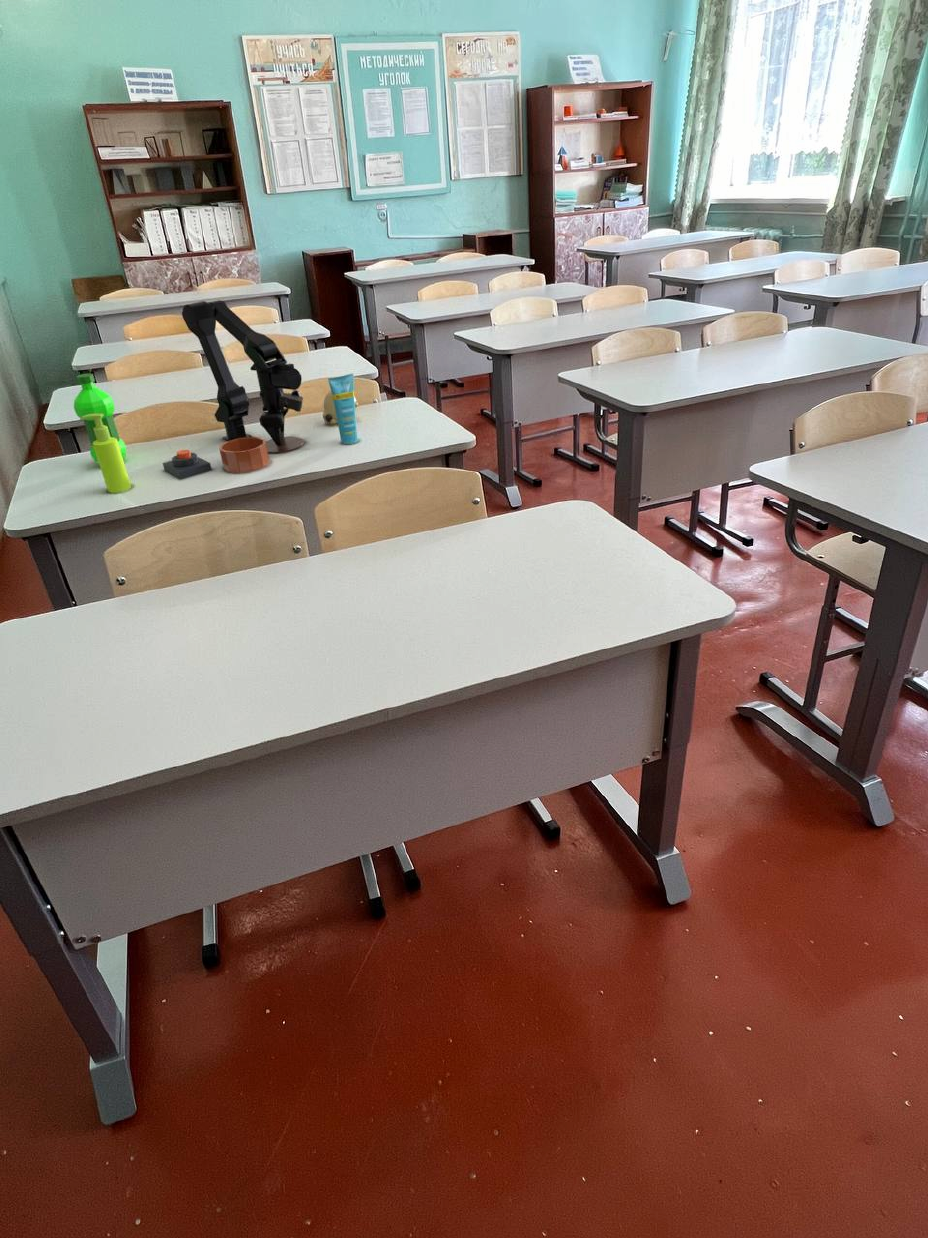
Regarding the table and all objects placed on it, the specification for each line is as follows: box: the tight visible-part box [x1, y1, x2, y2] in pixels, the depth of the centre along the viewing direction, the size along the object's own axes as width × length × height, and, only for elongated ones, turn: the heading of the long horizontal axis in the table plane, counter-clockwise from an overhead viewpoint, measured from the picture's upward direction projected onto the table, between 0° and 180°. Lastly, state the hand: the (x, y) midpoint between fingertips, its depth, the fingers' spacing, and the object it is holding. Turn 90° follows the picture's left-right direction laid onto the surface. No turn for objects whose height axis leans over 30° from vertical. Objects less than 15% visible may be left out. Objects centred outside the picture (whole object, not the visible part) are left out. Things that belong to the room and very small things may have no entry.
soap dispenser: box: [79, 414, 132, 494], centre depth 196 cm, size 6×7×20 cm
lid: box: [266, 431, 305, 455], centre depth 223 cm, size 13×13×4 cm
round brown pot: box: [219, 436, 271, 474], centre depth 209 cm, size 12×12×6 cm
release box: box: [162, 452, 213, 480], centre depth 209 cm, size 11×9×4 cm
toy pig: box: [322, 389, 359, 426], centre depth 238 cm, size 10×12×11 cm
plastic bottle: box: [73, 373, 127, 464], centre depth 214 cm, size 10×10×25 cm
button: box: [176, 449, 192, 459], centre depth 208 cm, size 4×4×2 cm
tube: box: [327, 373, 359, 445], centre depth 218 cm, size 7×5×19 cm, turn 123°
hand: (280, 440), depth 223 cm, fingers open, 9 cm apart
